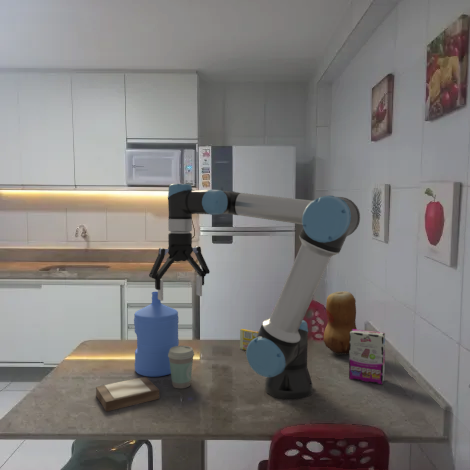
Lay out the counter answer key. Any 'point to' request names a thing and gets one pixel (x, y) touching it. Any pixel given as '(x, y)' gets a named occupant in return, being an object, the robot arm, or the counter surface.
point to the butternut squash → (340, 321)
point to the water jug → (155, 338)
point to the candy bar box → (367, 356)
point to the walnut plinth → (126, 393)
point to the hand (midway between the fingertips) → (180, 297)
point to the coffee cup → (181, 365)
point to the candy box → (246, 337)
